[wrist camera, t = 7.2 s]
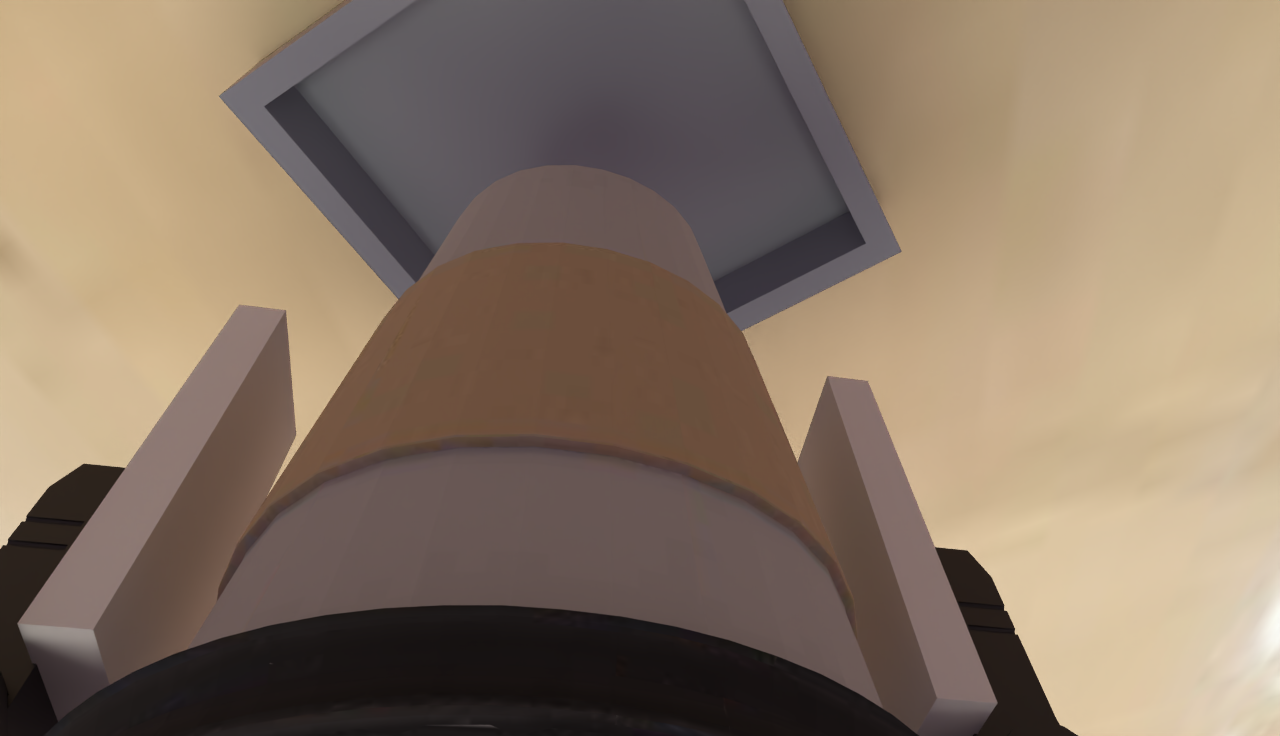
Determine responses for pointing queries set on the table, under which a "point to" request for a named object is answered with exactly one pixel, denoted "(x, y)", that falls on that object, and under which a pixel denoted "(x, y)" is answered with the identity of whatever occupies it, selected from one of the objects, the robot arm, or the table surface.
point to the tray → (573, 129)
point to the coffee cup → (531, 515)
